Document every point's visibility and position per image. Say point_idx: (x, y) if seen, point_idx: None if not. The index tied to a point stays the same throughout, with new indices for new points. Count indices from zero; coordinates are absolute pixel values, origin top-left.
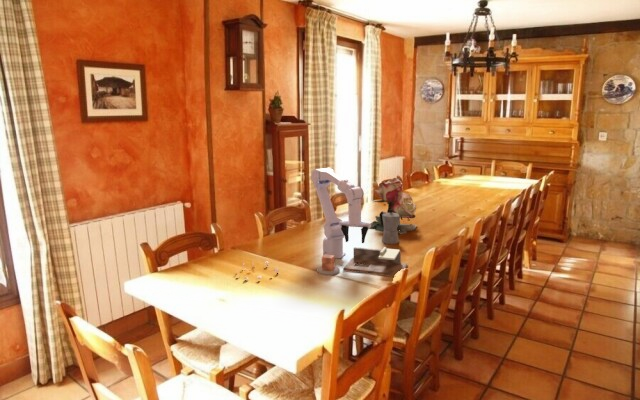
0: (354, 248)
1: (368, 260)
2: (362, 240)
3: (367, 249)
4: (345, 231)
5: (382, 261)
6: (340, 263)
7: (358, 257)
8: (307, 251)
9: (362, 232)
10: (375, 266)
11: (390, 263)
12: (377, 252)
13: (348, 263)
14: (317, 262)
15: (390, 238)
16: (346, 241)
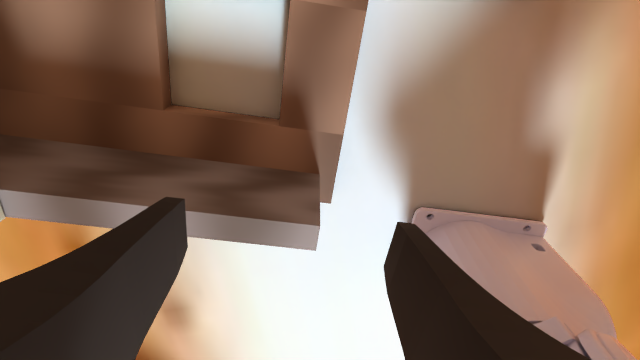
0: (311, 223)
1: (200, 159)
2: (152, 211)
3: None
4: (496, 343)
5: (82, 146)
6: (414, 112)
7: (279, 177)
8: (629, 293)
9: (30, 309)
10: (97, 25)
11: (14, 126)
12: (81, 186)
13: (347, 66)
14: (598, 104)
15: None
16: (408, 226)
